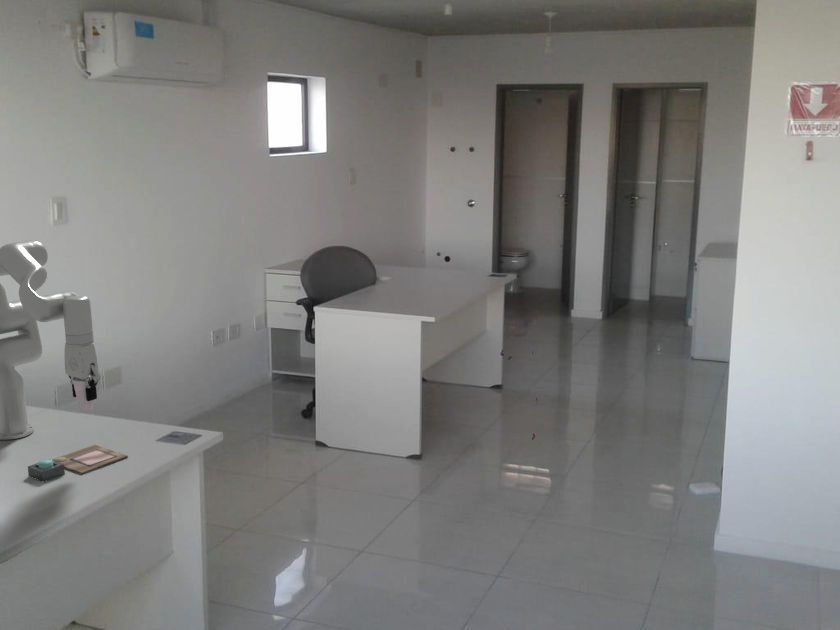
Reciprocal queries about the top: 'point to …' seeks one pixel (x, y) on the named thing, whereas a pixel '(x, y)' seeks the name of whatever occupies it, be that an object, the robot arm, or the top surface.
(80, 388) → the smoothie
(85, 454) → the picture board
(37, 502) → the top surface
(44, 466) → the button
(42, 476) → the button housing
